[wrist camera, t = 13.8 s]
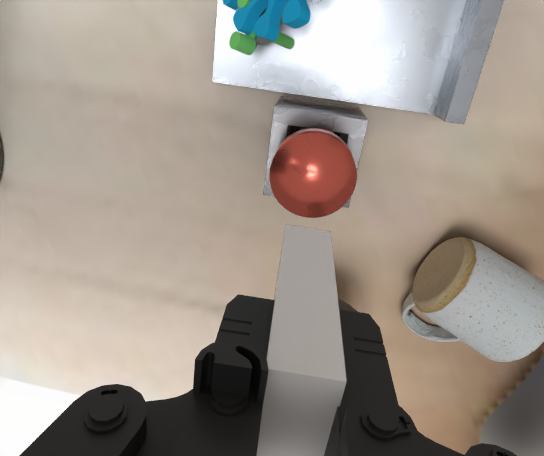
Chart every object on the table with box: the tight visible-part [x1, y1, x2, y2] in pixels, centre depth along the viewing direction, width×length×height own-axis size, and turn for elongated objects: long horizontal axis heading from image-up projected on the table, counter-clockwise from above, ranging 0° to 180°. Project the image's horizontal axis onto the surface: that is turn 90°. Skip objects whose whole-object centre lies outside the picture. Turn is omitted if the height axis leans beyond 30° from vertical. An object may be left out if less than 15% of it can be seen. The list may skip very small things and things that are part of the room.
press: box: [212, 0, 504, 208], centre depth 23 cm, size 18×22×14 cm
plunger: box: [269, 127, 357, 218], centre depth 27 cm, size 5×5×9 cm
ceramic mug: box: [402, 237, 544, 362], centre depth 33 cm, size 11×8×8 cm
